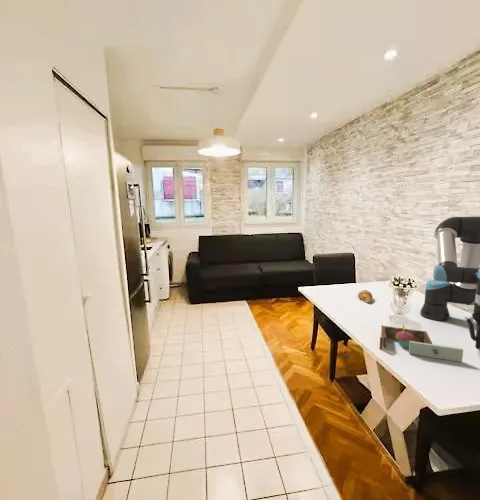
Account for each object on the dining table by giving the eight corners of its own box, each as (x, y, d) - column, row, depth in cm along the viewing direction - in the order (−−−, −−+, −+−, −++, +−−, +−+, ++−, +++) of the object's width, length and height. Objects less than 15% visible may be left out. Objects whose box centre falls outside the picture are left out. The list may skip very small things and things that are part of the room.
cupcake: (407, 351, 131) (409, 328, 129) (391, 343, 139) (392, 322, 137) (417, 346, 135) (419, 324, 133) (401, 339, 143) (402, 318, 141)
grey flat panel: (461, 360, 122) (462, 348, 121) (463, 363, 119) (464, 351, 118) (408, 352, 130) (409, 340, 129) (409, 355, 127) (410, 343, 127)
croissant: (372, 308, 195) (378, 299, 193) (360, 302, 195) (365, 293, 193) (364, 298, 215) (370, 289, 213) (353, 292, 216) (358, 284, 214)
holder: (425, 342, 139) (426, 331, 138) (432, 357, 125) (433, 345, 124) (377, 335, 148) (378, 325, 147) (379, 349, 134) (380, 338, 133)
